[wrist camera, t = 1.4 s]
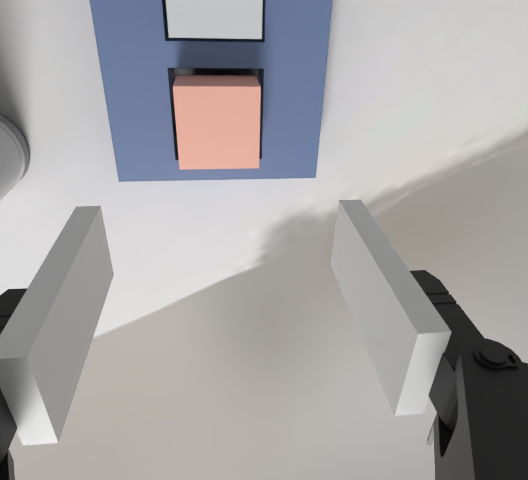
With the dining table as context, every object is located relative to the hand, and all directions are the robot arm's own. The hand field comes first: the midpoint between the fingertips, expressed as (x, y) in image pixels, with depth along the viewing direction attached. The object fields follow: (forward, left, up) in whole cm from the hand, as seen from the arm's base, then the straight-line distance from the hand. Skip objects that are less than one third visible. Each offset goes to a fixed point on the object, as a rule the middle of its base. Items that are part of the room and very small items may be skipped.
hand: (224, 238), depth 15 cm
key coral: (0, 0, -16) cm, 16 cm away
